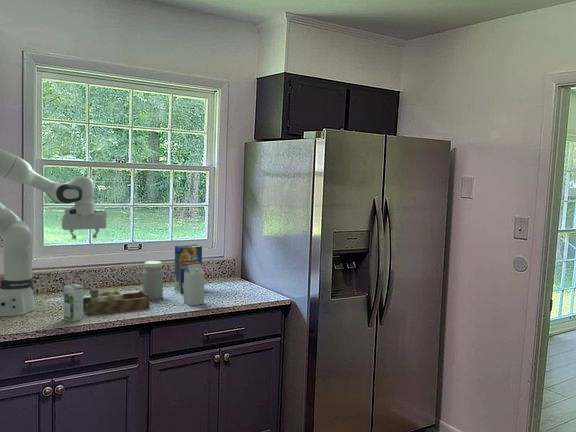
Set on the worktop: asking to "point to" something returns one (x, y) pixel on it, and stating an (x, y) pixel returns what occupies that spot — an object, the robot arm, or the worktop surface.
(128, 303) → the bay
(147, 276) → the jar
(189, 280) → the milk carton
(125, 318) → the worktop surface
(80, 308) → the syrup box
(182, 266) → the juice carton
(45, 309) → the worktop surface
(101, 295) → the drawer
